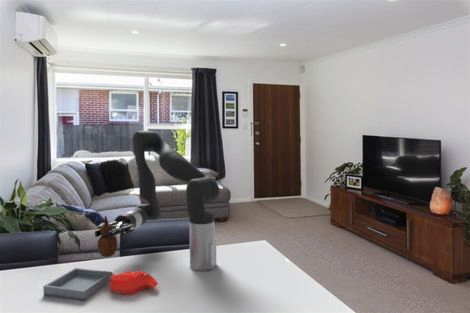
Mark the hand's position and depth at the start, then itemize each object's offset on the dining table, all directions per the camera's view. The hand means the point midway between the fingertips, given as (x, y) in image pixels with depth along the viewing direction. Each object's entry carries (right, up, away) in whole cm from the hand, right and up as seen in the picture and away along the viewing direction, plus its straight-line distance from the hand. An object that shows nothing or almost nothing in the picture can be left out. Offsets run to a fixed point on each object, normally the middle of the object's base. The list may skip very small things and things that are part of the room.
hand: (102, 234), depth 123 cm
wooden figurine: (+1, -8, +3) cm, 9 cm away
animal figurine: (+14, -16, -10) cm, 23 cm away
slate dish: (-4, -15, -9) cm, 18 cm away
